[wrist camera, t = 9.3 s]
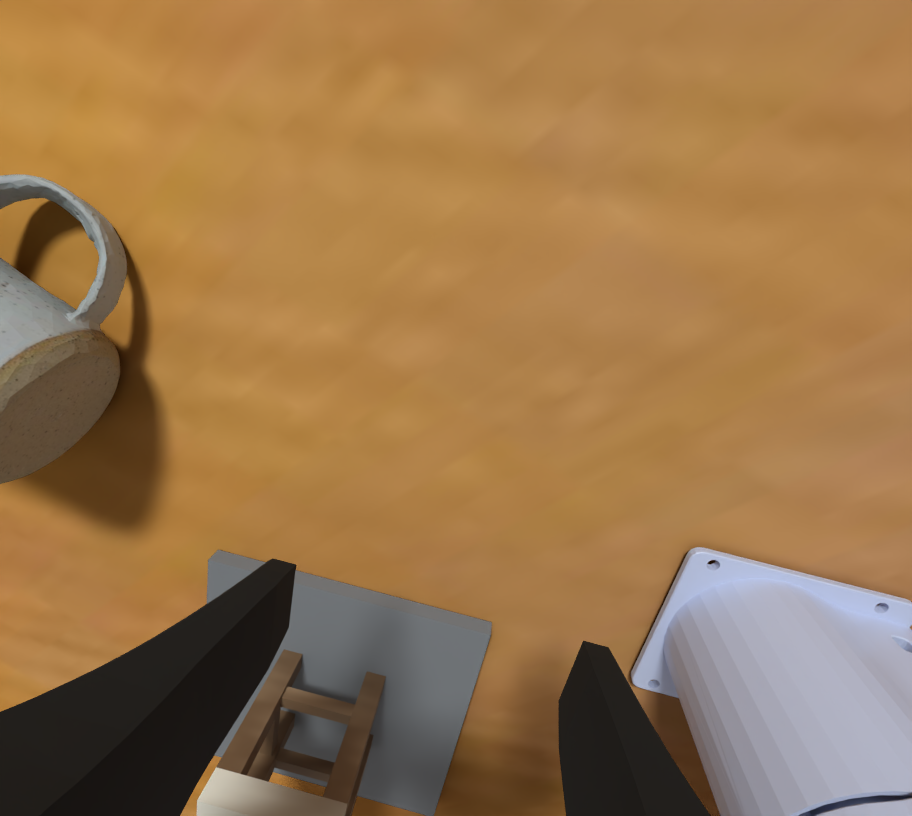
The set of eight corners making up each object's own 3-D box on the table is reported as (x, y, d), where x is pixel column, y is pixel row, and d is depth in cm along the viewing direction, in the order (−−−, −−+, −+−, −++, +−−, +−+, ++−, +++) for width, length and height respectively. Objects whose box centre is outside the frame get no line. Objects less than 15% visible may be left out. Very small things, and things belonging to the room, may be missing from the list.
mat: (491, 622, 23) (490, 635, 22) (435, 801, 28) (433, 817, 27) (218, 549, 24) (208, 559, 23) (210, 738, 28) (201, 751, 28)
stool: (385, 676, 24) (336, 840, 17) (371, 747, 26) (321, 919, 19) (283, 649, 24) (197, 800, 18) (276, 721, 26) (195, 882, 20)
